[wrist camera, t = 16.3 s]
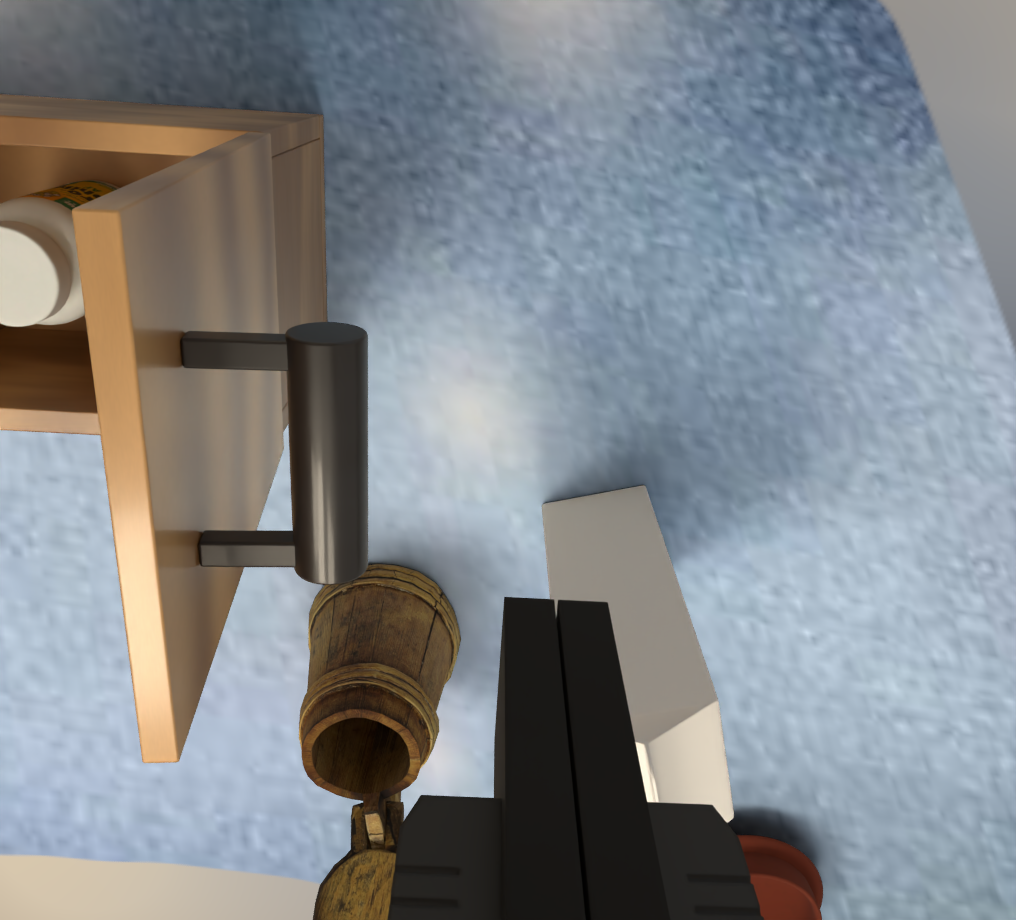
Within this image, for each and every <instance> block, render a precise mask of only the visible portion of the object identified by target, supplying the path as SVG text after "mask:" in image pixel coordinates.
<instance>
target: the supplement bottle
mask: <svg viewBox="0 0 1016 920" xmlns="http://www.w3.org/2000/svg"><path fill="white" fill-rule="evenodd" d="M117 189H119V187H117V186H115V185H112V184H110V183H107V182H103V181H98V180H83V181H77V182H72V183H68V184H64V185H61V186H57V187H54V188H50V189H46V190H42V191H39V192H35V193H31V194H28V195H24V196H21V197H18V198H14V199H11V200H8V201H6V202H3V203H1V204H0V324H3V325H6V326H12V327H23V326H30V325H34V324H42V325H58V324H64V323H68V322H71V321H74V320H76V319H78V318H80V317H82V316H84V315H85V310H84V303H83V295H82V287H81V279H80V272H79V264H78V256H77V248H76V241H75V233H74V225H73V217H72V209H74V208H76V207H78V206H80V205H83V204H85V203H87V202H90V201H92V200H94V199H96V198H99V197H101V196H103V195H106V194H108V193H110V192H113V191H115V190H117Z"/></svg>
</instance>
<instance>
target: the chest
mask: <svg viewBox="0 0 1016 920" xmlns="http://www.w3.org/2000/svg"><path fill="white" fill-rule="evenodd" d="M248 132H258V133H270V135H271V154H272V178H273V202H274V225H275V249H276V273H277V297H278V321H279V334H285V333H286V331H287V330H288V329H289V328H291V327H294V326H297V325H301V324H306V323H314V322H327V281H326V231H325V180H324V129H323V115H320V114H305V113H289V112H274V111H258V110H242V109H227V108H211V107H195V106H180V105H164V104H149V103H133V102H117V101H102V100H86V99H70V98H55V97H39V96H24V95H8V94H0V204H1V203H3V202H6V201H8V200H11V199H14V198H18V197H21V196H24V195H28V194H31V193H35V192H39V191H42V190H46V189H50V188H54V187H57V186H61V185H64V184H68V183H72V182H77V181H83V180H98V181H103V182H107V183H110V184H112V185H115V186H117V187H119V188H122V187H124V186H126V185H129V184H131V183H133V182H135V181H138V180H140V179H142V178H145V177H147V176H149V175H151V174H154V173H156V172H158V171H161V170H163V169H165V168H168V167H170V166H172V165H174V164H177V163H179V162H181V161H184V160H186V159H188V158H190V157H193V156H195V155H197V154H200V153H202V152H204V151H206V150H209V149H211V148H213V147H216V146H218V145H220V144H223V143H225V142H227V141H229V140H232V139H234V138H236V137H239V136H241V135H243V134H245V133H248ZM281 393H282V417H283V432H284V430H285V428H286V427H287V425H288V397H287V371H281ZM0 430H13V431H32V432H51V433H70V434H89V435H100V427H99V419H98V411H97V404H96V396H95V388H94V380H93V373H92V365H91V357H90V349H89V342H88V334H87V326H86V318H85V315H84V316H82V317H80V318H78V319H76V320H74V321H71V322H68V323H64V324H58V325H42V324H34V325H30V326H23V327H12V326H6V325H3V324H0Z"/></svg>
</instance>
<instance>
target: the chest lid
mask: <svg viewBox="0 0 1016 920" xmlns="http://www.w3.org/2000/svg"><path fill="white" fill-rule="evenodd" d="M72 217H73V225H74V233H75V241H76V248H77V256H78V264H79V272H80V279H81V287H82V295H83V303H84V310H85V318H86V326H87V334H88V342H89V349H90V357H91V365H92V373H93V380H94V388H95V396H96V404H97V411H98V419H99V427H100V435H101V443H102V450H103V458H104V466H105V474H106V481H107V489H108V497H109V505H110V512H111V520H112V528H113V536H114V544H115V551H116V559H117V567H118V575H119V582H120V590H121V598H122V606H123V613H124V621H125V629H126V637H127V645H128V652H129V660H130V668H131V676H132V683H133V691H134V699H135V707H136V714H137V722H138V730H139V738H140V746H141V753H142V760H143V762H144V763H164V762H178V761H179V759H180V756H181V753H182V750H183V747H184V744H185V741H186V738H187V736H188V733H189V730H190V727H191V724H192V721H193V718H194V715H195V712H196V709H197V706H198V703H199V700H200V697H201V694H202V691H203V688H204V685H205V682H206V679H207V676H208V673H209V670H210V667H211V664H212V661H213V658H214V655H215V652H216V649H217V646H218V643H219V640H220V637H221V634H222V631H223V628H224V625H225V622H226V619H227V616H228V613H229V610H230V607H231V604H232V601H233V599H234V596H235V593H236V590H237V587H238V584H239V581H240V578H241V575H242V572H243V569H244V567H294V569H295V571H296V573H297V574H298V576H300V577H301V578H302V579H304V580H306V581H308V582H311V583H316V584H323V585H335V584H342V583H346V582H350V581H352V580H355V579H357V578H358V577H360V576H361V575H362V574H364V572H365V571H366V569H367V567H368V334H367V332H366V331H365V330H364V329H362V328H360V327H357V326H354V325H350V324H345V323H337V322H314V323H306V324H301V325H297V326H294V327H291V328H289V329H288V330H287V331H286V333H285V334H279V321H278V297H277V273H276V249H275V225H274V202H273V178H272V154H271V135H270V133H258V132H248V133H245V134H243V135H241V136H239V137H236V138H234V139H232V140H229V141H227V142H225V143H223V144H220V145H218V146H216V147H213V148H211V149H209V150H206V151H204V152H202V153H200V154H197V155H195V156H193V157H190V158H188V159H186V160H184V161H181V162H179V163H177V164H174V165H172V166H170V167H168V168H165V169H163V170H161V171H158V172H156V173H154V174H151V175H149V176H147V177H145V178H142V179H140V180H138V181H135V182H133V183H131V184H129V185H126V186H124V187H122V188H119V189H117V190H115V191H113V192H110V193H108V194H106V195H103V196H101V197H99V198H96V199H94V200H92V201H90V202H87V203H85V204H83V205H80V206H78V207H76V208H74V209H72ZM281 371H287V397H288V423H289V448H290V474H291V500H292V525H293V531H256V530H257V527H258V524H259V521H260V518H261V515H262V512H263V509H264V506H265V503H266V500H267V497H268V494H269V491H270V488H271V485H272V482H273V479H274V476H275V473H276V470H277V467H278V464H279V462H280V459H281V456H282V453H283V450H284V441H283V417H282V393H281Z"/></svg>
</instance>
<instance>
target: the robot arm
mask: <svg viewBox="0 0 1016 920" xmlns="http://www.w3.org/2000/svg"><path fill="white" fill-rule="evenodd" d="M388 920H764V918H763V916H761V914H760V905H759V902H758V898H757V895H756V892H755V889H754V885H753V884H751V876H750V872H749V869H748V866H747V863H746V859H745V856H744V853H743V850H742V846H741V843H740V840H739V838H738V836H737V835H736V834H735V833H734V831H733V830H732V829H731V828H730V826H729V825H728V824H727V822H726V821H725V820H724V819H723V817H722V816H721V815H720V814H719V812H718V811H717V810H716V809H715V807H714V806H713V805H708V804H684V803H660V802H647V799H646V794H645V788H644V783H643V778H642V773H641V768H640V763H639V758H638V753H637V748H636V743H635V738H634V733H633V728H632V723H631V718H630V713H629V707H628V702H627V697H626V692H625V687H624V682H623V677H622V672H621V667H620V662H619V657H618V652H617V647H616V642H615V637H614V632H613V626H612V621H611V616H610V611H609V606H608V602H596V601H575V600H558V605H557V615H556V612H555V602H554V599H534V598H513V597H504V610H503V625H502V639H501V654H500V668H499V683H498V697H497V712H496V727H495V749H494V798H479V797H455V796H431V795H421V796H420V798H419V799H418V801H417V802H416V804H415V805H414V807H413V808H412V810H411V811H410V813H409V814H408V816H407V817H406V819H405V820H404V822H403V823H402V825H401V826H400V830H399V837H398V845H397V852H396V860H395V870H394V875H393V882H392V890H391V898H390V905H389V912H388Z"/></svg>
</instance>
